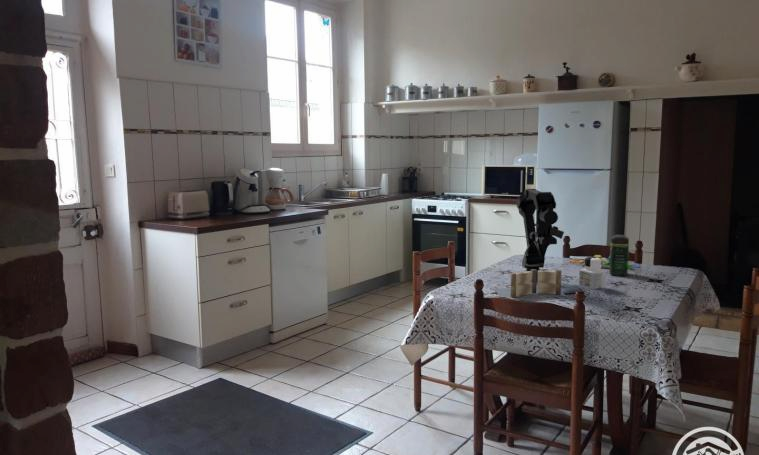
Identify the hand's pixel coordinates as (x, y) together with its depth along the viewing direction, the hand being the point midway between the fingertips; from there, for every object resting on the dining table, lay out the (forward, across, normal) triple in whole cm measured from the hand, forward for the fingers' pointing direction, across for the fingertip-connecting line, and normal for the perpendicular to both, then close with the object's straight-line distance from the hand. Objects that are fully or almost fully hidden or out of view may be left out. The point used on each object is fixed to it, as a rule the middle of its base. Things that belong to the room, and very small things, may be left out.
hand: (542, 257), depth 246 cm
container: (+13, -2, -21) cm, 25 cm away
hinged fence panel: (+12, -14, +12) cm, 22 cm away
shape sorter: (+14, +45, -45) cm, 65 cm away
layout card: (+13, -9, +8) cm, 18 cm away
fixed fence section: (+12, -13, +1) cm, 18 cm away
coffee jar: (+13, +22, -43) cm, 50 cm away
